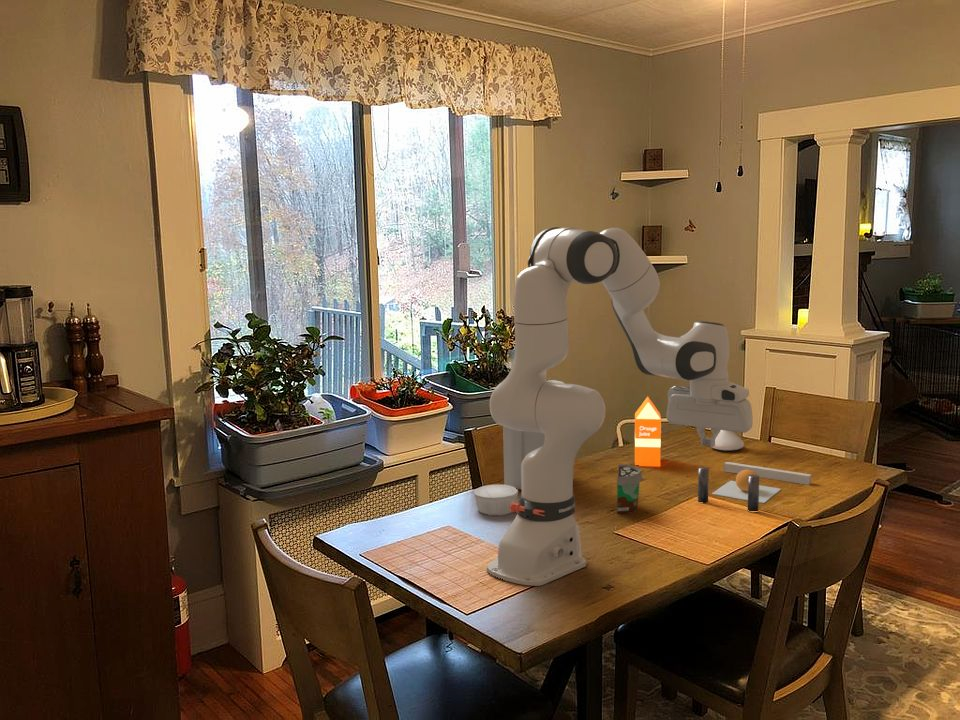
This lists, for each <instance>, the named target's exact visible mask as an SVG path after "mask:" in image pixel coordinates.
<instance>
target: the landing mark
mask: <svg viewBox="0 0 960 720" xmlns="http://www.w3.org/2000/svg"><path fill="white" fill-rule="evenodd" d="M781 490H782V489H781V488H778V487H772V486H767V485H761V484H759V504H765V503H767V502H768V501H769V500H770V499H772V497H774V496H775V495H776V494H778V493H779V492H780V491H781ZM711 495H715V496H719V497H727V498H732V499H736V500H743V501H746V502H748V492H744V491H742V490H740V489H739V488H738V486H737V484H736V480H729V481H727V482H726V483H725V484H723V485H722V486H720V487H718V489H716V490H715V491H713V492H712V493H711Z"/></svg>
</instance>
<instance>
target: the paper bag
mask: <svg viewBox="0 0 960 720" xmlns="http://www.w3.org/2000/svg"><path fill="white" fill-rule="evenodd" d="M547 382H550V383H564V384H565V382H564V381H560V380H555V379H552V380H547ZM502 431H503V432H502V433H503V435H502V436H503V438H502V439H503V441H502V442H503V481H504V482H503V483H504V484H503V485H509V486H512V487H515V488H517V490H522V478H521V465H522V462H523V459H524V458H525V456H526V455H527V454H528V453H530V452H531V451H533V450H535V449H537V448H540V447H542V446H544V442H545V435H544V434H543V433H536V432H527V431H517V430H513V429H510V428H507V427H504V426H502Z"/></svg>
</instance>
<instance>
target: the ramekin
mask: <svg viewBox="0 0 960 720" xmlns="http://www.w3.org/2000/svg"><path fill="white" fill-rule="evenodd" d="M473 494H474V497H475V501H476V507H477V510H478V511H479V512H480V513H481V512H482V513H481V514H483V513H484V514H483V515H486V514H488V515H487V516H492V515H498V516H505V514H506V515H509V514H511V513H512V512H511V510H510V505H511V503H512V502H515V503H517V499H518V495H519V489H516V488H515V487H512V486H509V485H504V484H487V485H482V486H480V487H478V488H476V489H475V490H474V491H473Z"/></svg>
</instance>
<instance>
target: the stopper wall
mask: <svg viewBox="0 0 960 720" xmlns="http://www.w3.org/2000/svg"><path fill="white" fill-rule="evenodd" d="M742 470H751V471H753V472H755V473H756V474H757V475H758V476H759V478H762V479H769V480H775V481H781V482H787V483H788V482H789V483H793V484H799V485H800V484H801V485H806V486H809V485H811V484H812V474H810V473H804V472H803V473H802V472H798V471H790V470H784V469H783V470H782V469H777V468H771V467H765V466H764V467H763V466H758V465H752V464H751V465H750V464H745V463H744V464H743V463H739V462H738V463H737V462H732V461H731V462H730V461H726V462H724V463H723V472H724V473H725V472H726V473H732V474H736V475H737V474H738V473H739V472H741V471H742Z"/></svg>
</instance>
